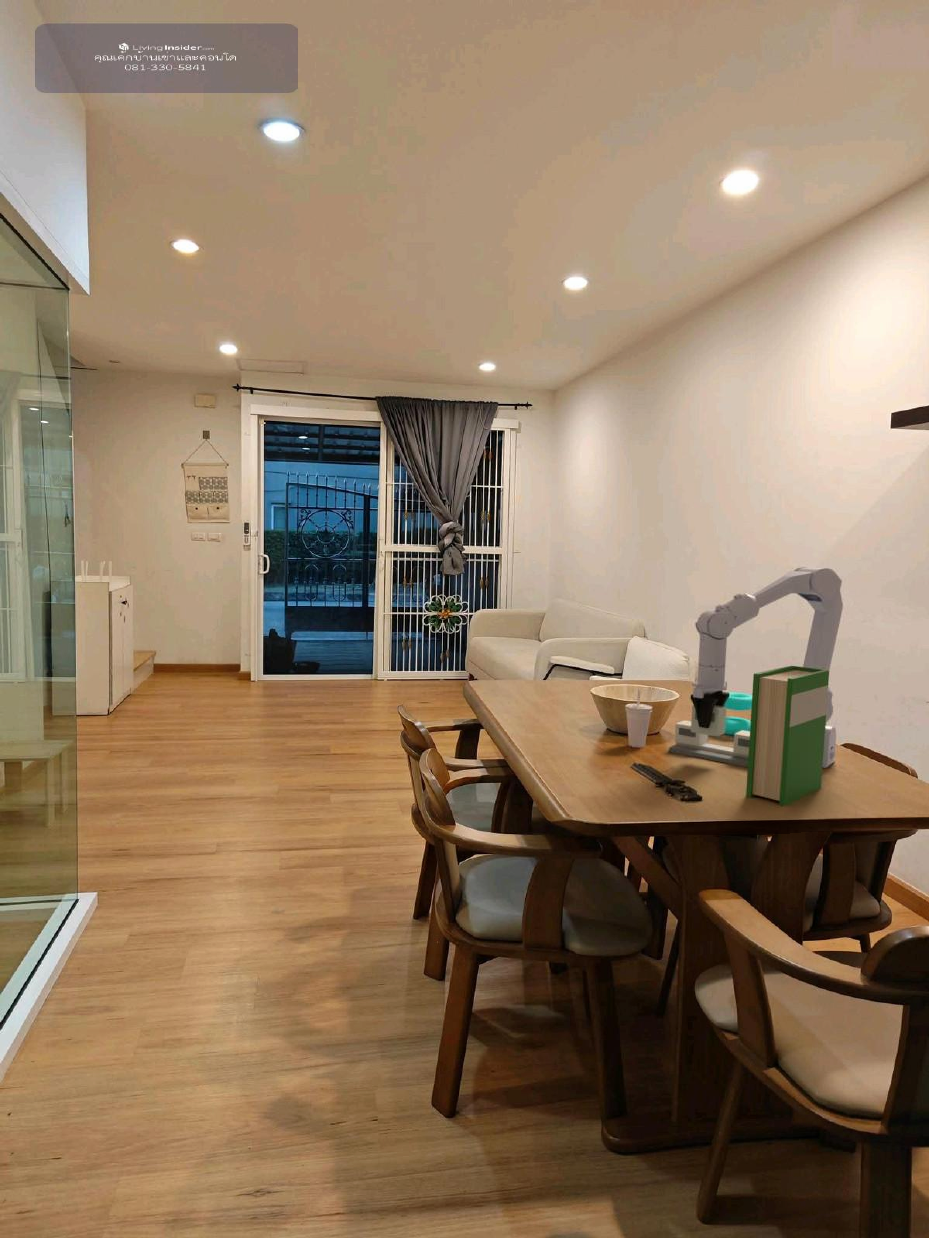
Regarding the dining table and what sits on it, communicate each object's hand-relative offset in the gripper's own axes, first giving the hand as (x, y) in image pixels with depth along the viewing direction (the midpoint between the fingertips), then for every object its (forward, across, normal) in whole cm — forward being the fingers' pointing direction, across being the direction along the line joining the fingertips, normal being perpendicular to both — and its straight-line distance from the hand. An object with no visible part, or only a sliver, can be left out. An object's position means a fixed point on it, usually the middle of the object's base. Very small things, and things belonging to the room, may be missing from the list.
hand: (708, 725), depth 169 cm
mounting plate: (+8, -8, 0) cm, 11 cm away
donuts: (+9, -34, -6) cm, 35 cm away
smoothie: (+8, -2, -18) cm, 20 cm away
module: (+2, 0, 0) cm, 2 cm away
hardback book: (+9, +10, +20) cm, 24 cm away
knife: (+9, +21, -1) cm, 23 cm away
